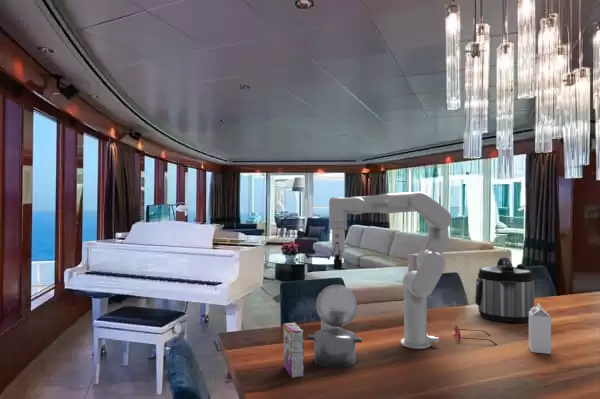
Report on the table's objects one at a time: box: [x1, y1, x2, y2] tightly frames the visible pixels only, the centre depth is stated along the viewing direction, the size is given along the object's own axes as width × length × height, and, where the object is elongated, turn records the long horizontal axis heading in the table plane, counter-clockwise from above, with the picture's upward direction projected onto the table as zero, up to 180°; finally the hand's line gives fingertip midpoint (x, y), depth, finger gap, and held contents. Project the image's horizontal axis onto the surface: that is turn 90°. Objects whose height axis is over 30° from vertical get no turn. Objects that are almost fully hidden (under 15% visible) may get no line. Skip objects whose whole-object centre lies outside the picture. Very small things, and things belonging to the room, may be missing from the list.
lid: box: [315, 284, 358, 328], centre depth 183 cm, size 17×17×2 cm
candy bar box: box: [282, 322, 305, 379], centre depth 160 cm, size 11×5×16 cm, turn 17°
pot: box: [307, 327, 363, 369], centre depth 173 cm, size 21×17×10 cm
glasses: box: [453, 325, 498, 346], centre depth 198 cm, size 14×16×5 cm
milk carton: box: [528, 302, 552, 355], centre depth 183 cm, size 7×7×19 cm
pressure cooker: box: [474, 257, 535, 323], centre depth 235 cm, size 30×28×32 cm
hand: (338, 268), depth 190 cm, fingers open, 3 cm apart
